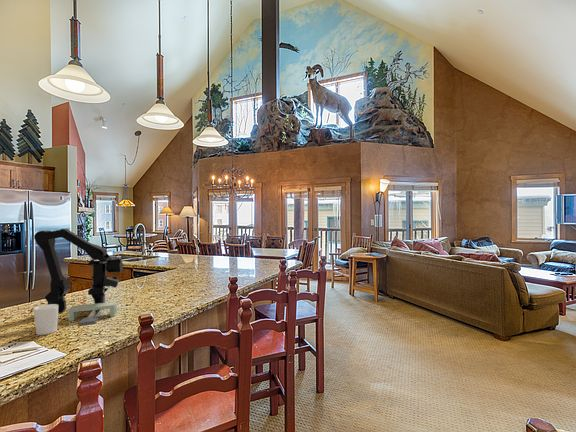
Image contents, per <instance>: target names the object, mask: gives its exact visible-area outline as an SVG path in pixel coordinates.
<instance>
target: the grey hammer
mask: <svg viewBox="0 0 576 432" xmlns="http://www.w3.org/2000/svg"><path fill="white" fill-rule="evenodd" d="M93 300H94V299H93ZM93 302H94V303H93V304H96V302H95V300H94V301H93ZM101 303H106V294H104V295H102V299H101ZM102 311H103V309H98V310H91V311H90V313H89V314H88V316H87V317H86V318H91V317H99V315H100V313H101V312H102Z"/></svg>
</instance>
